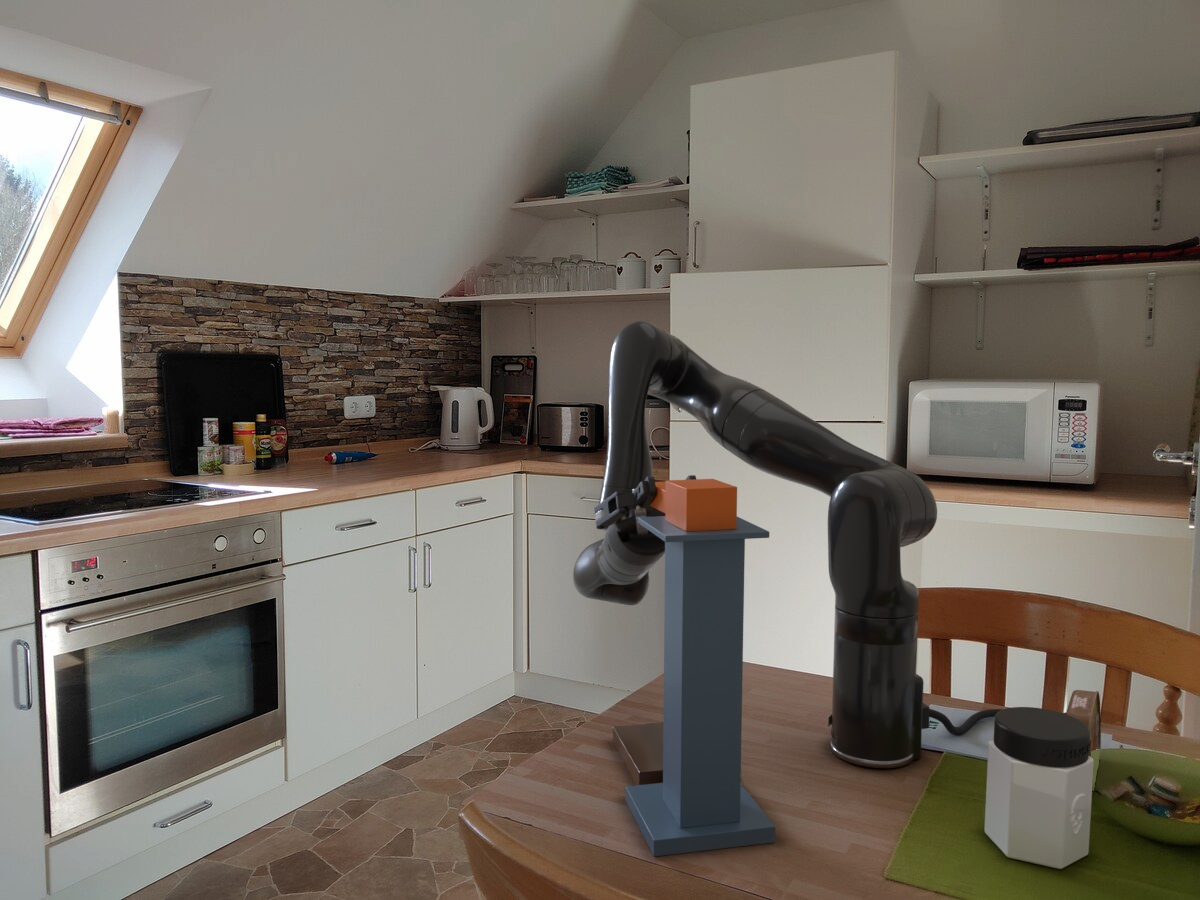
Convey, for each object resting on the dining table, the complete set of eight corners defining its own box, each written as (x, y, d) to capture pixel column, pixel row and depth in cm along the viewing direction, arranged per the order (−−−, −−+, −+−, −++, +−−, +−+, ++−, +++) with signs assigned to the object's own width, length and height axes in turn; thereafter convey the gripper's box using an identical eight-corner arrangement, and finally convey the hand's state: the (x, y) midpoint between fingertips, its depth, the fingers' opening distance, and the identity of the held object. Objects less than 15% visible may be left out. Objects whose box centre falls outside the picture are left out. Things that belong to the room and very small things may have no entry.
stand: (734, 789, 99) (739, 512, 96) (775, 842, 88) (782, 532, 85) (625, 801, 96) (626, 516, 93) (653, 856, 85) (656, 537, 82)
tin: (1091, 805, 95) (1096, 726, 94) (1057, 797, 97) (1062, 720, 96) (1102, 752, 108) (1106, 682, 107) (1072, 746, 110) (1075, 677, 109)
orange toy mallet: (677, 502, 102) (677, 466, 102) (736, 529, 86) (737, 486, 86) (634, 504, 101) (634, 467, 100) (686, 531, 85) (686, 488, 84)
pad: (684, 736, 112) (684, 720, 112) (719, 782, 100) (719, 764, 100) (612, 742, 111) (612, 726, 110) (639, 790, 98) (639, 772, 98)
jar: (1049, 879, 82) (1056, 749, 81) (968, 839, 88) (973, 718, 87) (1103, 850, 87) (1111, 726, 85) (1023, 814, 93) (1028, 699, 92)
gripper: (577, 510, 113) (603, 453, 97) (689, 506, 116) (731, 450, 100) (583, 569, 110) (611, 519, 94) (697, 564, 113) (743, 515, 97)
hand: (673, 484), depth 98 cm, fingers open, 4 cm apart
